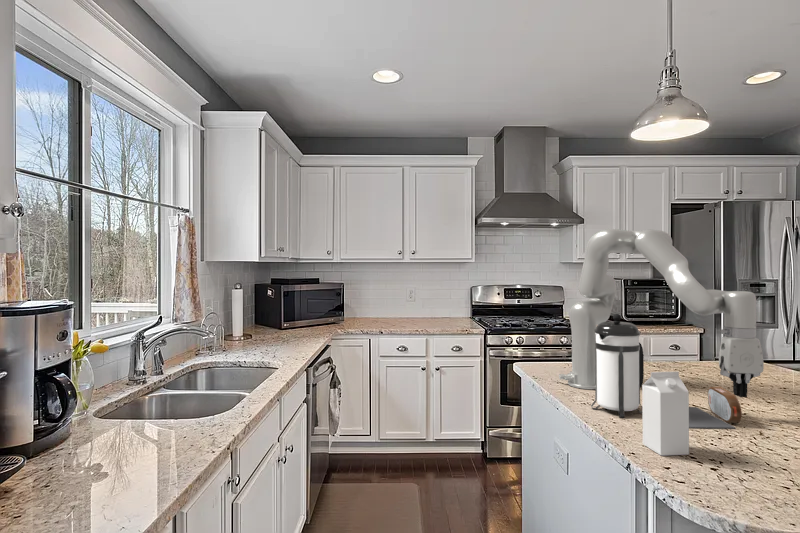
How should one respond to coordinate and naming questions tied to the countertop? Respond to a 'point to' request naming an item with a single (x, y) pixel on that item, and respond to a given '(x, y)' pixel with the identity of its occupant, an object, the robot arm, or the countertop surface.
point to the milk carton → (665, 414)
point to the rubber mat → (705, 420)
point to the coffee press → (618, 366)
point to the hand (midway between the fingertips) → (740, 395)
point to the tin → (724, 404)
